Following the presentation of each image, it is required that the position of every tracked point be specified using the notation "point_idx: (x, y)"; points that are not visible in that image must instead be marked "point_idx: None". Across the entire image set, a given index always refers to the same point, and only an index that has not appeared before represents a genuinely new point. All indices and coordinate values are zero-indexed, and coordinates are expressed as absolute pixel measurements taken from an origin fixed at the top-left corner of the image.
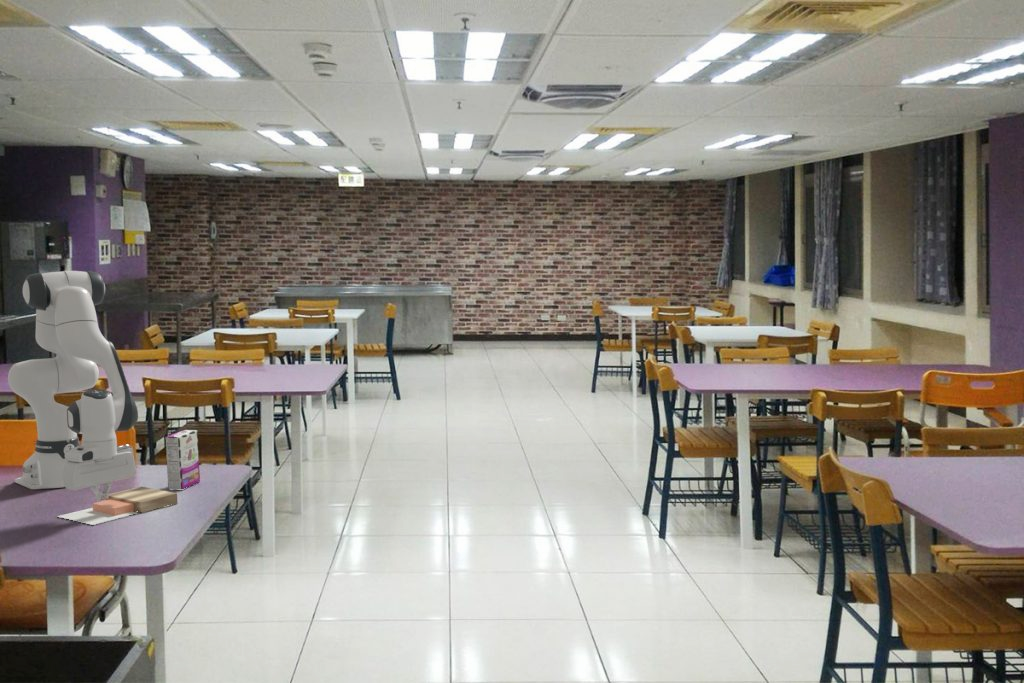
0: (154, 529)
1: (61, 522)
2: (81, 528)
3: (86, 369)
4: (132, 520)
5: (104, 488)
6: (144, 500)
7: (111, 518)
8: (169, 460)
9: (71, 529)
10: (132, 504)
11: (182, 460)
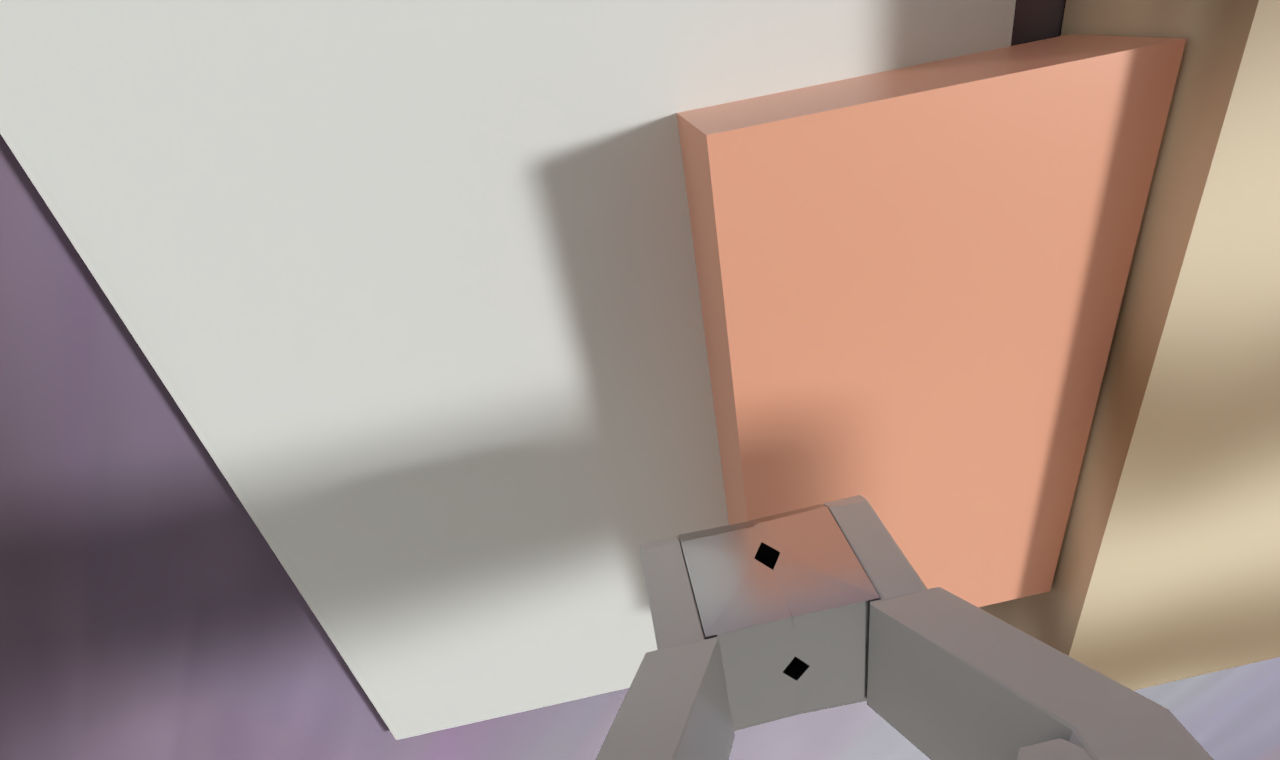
0: None
1: (44, 409)
2: (274, 742)
3: None
4: (760, 739)
5: (965, 686)
6: (1150, 658)
7: (646, 650)
8: None
9: (165, 728)
10: (1023, 590)
11: None
